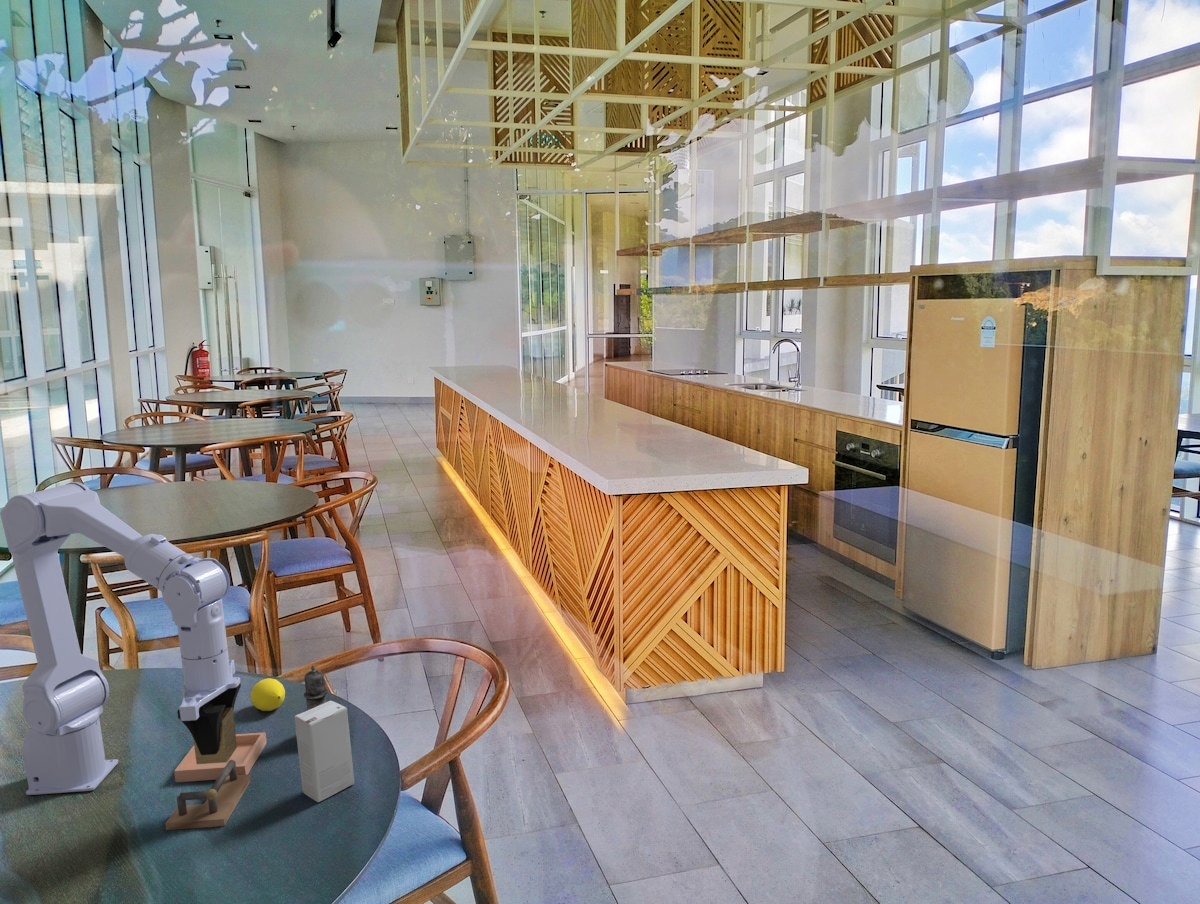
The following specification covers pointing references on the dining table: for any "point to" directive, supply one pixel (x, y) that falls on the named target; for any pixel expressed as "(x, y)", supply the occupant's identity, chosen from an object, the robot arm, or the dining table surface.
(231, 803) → the bent wire
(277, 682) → the lemon
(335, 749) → the skincare box
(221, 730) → the hollow wooden box
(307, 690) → the dark grey chess piece
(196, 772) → the dish
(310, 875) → the dining table surface
